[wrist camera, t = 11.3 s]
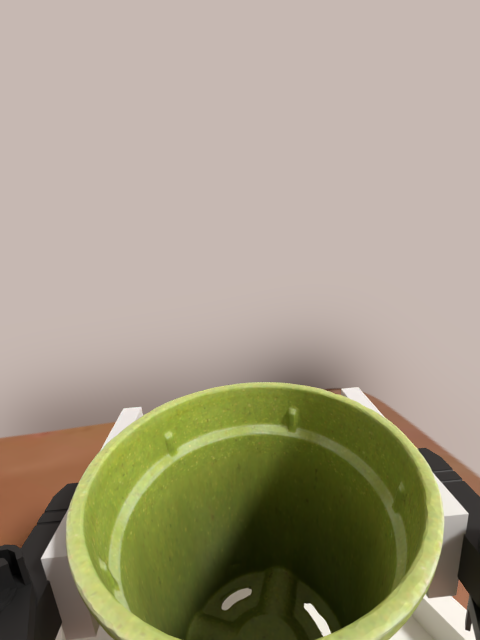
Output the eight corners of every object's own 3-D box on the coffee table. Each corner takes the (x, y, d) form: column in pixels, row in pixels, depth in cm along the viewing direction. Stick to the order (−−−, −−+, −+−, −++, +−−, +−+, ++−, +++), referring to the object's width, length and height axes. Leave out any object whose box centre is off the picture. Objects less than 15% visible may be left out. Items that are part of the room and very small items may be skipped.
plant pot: (105, 617, 13) (57, 434, 11) (286, 507, 18) (280, 361, 15) (195, 1170, 5) (91, 936, 3) (481, 719, 10) (529, 484, 7)
